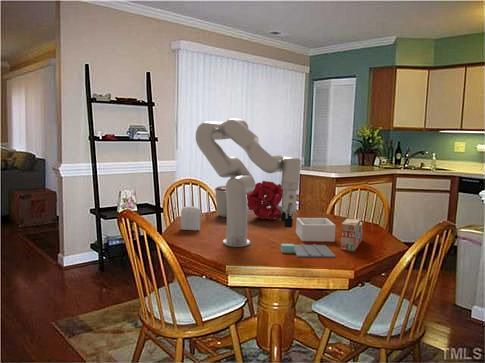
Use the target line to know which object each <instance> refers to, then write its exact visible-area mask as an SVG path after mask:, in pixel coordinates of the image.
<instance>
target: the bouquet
mask: <svg viewBox="0 0 485 363" xmlns="http://www.w3.org/2000/svg"><path fill="white" fill-rule="evenodd" d="M282 195H283V189H281V183H278V184H276V183H275V182H274V181H266V180H262V182H257V183H255V189H254V190H253V192H251V193H249V194H247V195H246V198H247V204H248V210H250V211H253V213H254V215H255V216H256V217H257V218H259V219H261V220H265V219H267V220H273V219H276V218H278V217H279V216H281V215H282V205H279V204H280V203H281V202H282Z"/></svg>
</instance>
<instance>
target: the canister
mask: <svg viewBox="0 0 485 363" xmlns="http://www.w3.org/2000/svg"><path fill="white" fill-rule="evenodd" d="M214 192H215V202H216V210H217V215H218V216H220V217H222V218H227V196H226V185H221V186H217V187H215V188H214Z"/></svg>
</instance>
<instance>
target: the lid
mask: <svg viewBox="0 0 485 363" xmlns="http://www.w3.org/2000/svg"><path fill="white" fill-rule="evenodd" d="M280 252H281V253H286V254H287V253H289V254H291V253H293V254H295V256H296V258H336V257H337V256H336V254H334V253H333V251H332V250H331V249H330V248H329V247H328V246H327V245H326V244H315V243H313V244H304V243H301V244H294V243H280Z"/></svg>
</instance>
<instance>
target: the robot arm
mask: <svg viewBox="0 0 485 363" xmlns="http://www.w3.org/2000/svg"><path fill="white" fill-rule="evenodd" d="M218 140H231V141H233V142H234V143H235V144H236V145H238V146H239V147H240V149H242V150H243V151H244V152H245V153H246V155H247V157H248V159H249V160H251V162H252V163H254V165H255V166H256V167H258V168H259V169H260V170H261V171H263V172H264V173H265V174H274V173H281V181H280V182H281V183H280V185H281V189H283V195H282V198H281V206H282V215H280V221H281V222H282V223H284V228H291V229H292V228H293V222H294V220H293V219H294V214H296V213H297V191H299V185H300V175H301V174H300V173H301V164H302V163H301V161H302V160H301V159H300V158H299V157H295V156H284V155H280V154H273V155H271V154H270V153H269V152H268V151H267V150H265V149H264V148H263V147H262V146H261V145H260V142H259V137H258V136H257V134H255V133H254V132H253V131H251V130H250V129H249V125H248V123H247V122H246V121H245V120H244V119H240V118H229V119H227V120H226V121H203V122H201V124H199V125H198V126H197V129H196V131H195V143H196V145H197V147H198V148H199V150H200V152H202V154H203V155H204V156H205V158H206V160H207V162H209V164H210V166H211V167H212V168H213V170H214V171H215V173H216V174H217V175H218V176H219V177H221V178H229V179H228V180H227V181H226V184H225V186H226V196H227V217H226V233H225V234H226V236H225V237H226V238H224V239H223V240H222V244H223V245H225V246H228V247H230V248H231V247H232V248H240V247H241V248H242V247H247V246H249V245H250V244H251V241H250V240H249V239H248V211H249V208H248V201H247V194H249V193H251V192H253V190H254V189H255V185H256V181H255V179H254V177H253V175H252V174H251V173H250V171H249V169H248V168H247V167H246V166H245V164H244V163H243V161H242V160H240V159H239V157H236V156H228V155H227V154H226V152H225V151H224V150H223V148H222V147H221V145H220V144H218V143H217V142H216V141H218Z"/></svg>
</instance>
